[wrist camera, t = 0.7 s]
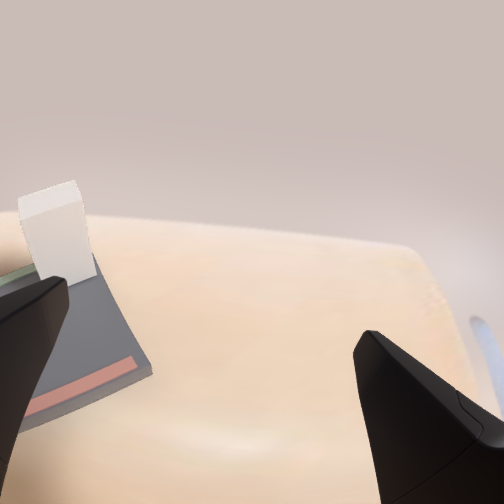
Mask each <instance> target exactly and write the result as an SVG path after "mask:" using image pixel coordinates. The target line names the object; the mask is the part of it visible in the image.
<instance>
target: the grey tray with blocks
mask: <svg viewBox="0 0 504 504" xmlns="http://www.w3.org/2000/svg"><path fill="white" fill-rule="evenodd" d="M18 212H19V222H20V225H21V228H22V231H23V234H24V237H25V240H26V243H27V245H28V248H29V251H30V254H31V256H32V259H33V261H34V263H33V264H31V265H28V266H26V267H23V268H21V269H18V270H16V271H13V272H11V273H9V274H6V275H4V276H1V277H0V297H1V296H3V295H6V294H8V293H11V292H13V291H16V290H18V289H21V288H23V287H26V286H28V285H31V284H33V283H36V282H38V281H41V280H43V279H46V278H49V277H51V276H59V277H62V278H65V279H66V280H67V284H68V292H69V301H70V305H69V310H68V312H67V315H66V317H65V320H64V322H63V325H62V327H61V330H60V332H59V335H58V338H57V341H56V343H55V346H54V348H53V351H52V353H51V355H50V357H49V359H48V362H47V364H46V366H45V368H44V370H43V372H42V374H41V377H40V379H39V381H38V383H37V386H36V388H35V390H34V393H33V395H32V398H31V400H30V403H29V405H28V408H27V410H26V413H25V415H24V418H23V421H22V423H21V426H20V429H19V432H18V433H21V432H24V431H26V430H29V429H31V428H34V427H37V426H39V425H42V424H44V423H47V422H49V421H51V420H54V419H56V418H59V417H61V416H63V415H66V414H68V413H70V412H73V411H75V410H77V409H80V408H82V407H84V406H86V405H89V404H91V403H93V402H95V401H98V400H100V399H102V398H104V397H106V396H108V395H111V394H113V393H115V392H117V391H119V390H121V389H123V388H125V387H127V386H129V385H132V384H134V383H136V382H138V381H140V380H142V379H144V378H146V377H148V376H150V375H152V374H153V373H152V367H151V363H150V362H149V360H148V359H147V357H146V355H145V354H144V352H143V350H142V349H141V347H140V345H139V344H138V342H137V340H136V338H135V337H134V335H133V333H132V331H131V330H130V328H129V326H128V324H127V322H126V320H125V319H124V317H123V315H122V313H121V311H120V309H119V307H118V305H117V303H116V302H115V300H114V298H113V296H112V294H111V292H110V290H109V288H108V285H107V283H106V281H105V279H104V277H103V275H102V273H101V271H100V269H99V266H98V264H97V262H96V260H95V257H94V255H93V253H92V250H91V245H90V240H89V235H88V229H87V224H86V218H85V211H84V204H83V199H82V196H81V194H80V191H79V189H78V186H77V184H76V181H75V180H72V181H68V182H65V183H62V184H59V185H55V186H52V187H49V188H46V189H43V190H40V191H37V192H34V193H31V194H28V195H26V196H23V197H20V198H18Z"/></svg>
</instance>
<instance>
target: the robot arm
mask: <svg viewBox="0 0 504 504" xmlns="http://www.w3.org/2000/svg"><path fill="white" fill-rule="evenodd" d="M69 305H70V301H69V292H68V284H67V280H66V279H65V278H62V277H59V276H51V277H49V278H46V279H43V280H41V281H38V282H36V283H33V284H31V285H28V286H26V287H23V288H21V289H18V290H16V291H13V292H11V293H8V294H6V295H3V296H1V297H0V496H1V491H2V487H3V483H4V479H5V475H6V471H7V467H8V466H7V465H8V463H9V460H10V456H11V453H12V450H13V447H14V444H15V441H16V438H17V435H18V432H19V429H20V426H21V423H22V421H23V418H24V415H25V413H26V410H27V408H28V405H29V403H30V400H31V398H32V395H33V393H34V390H35V388H36V386H37V383H38V381H39V379H40V377H41V374H42V372H43V370H44V368H45V366H46V364H47V362H48V359H49V357H50V355H51V353H52V351H53V348H54V346H55V343H56V341H57V338H58V335H59V332H60V330H61V327H62V325H63V322H64V320H65V317H66V315H67V312H68V310H69ZM353 359H354V366H355V373H356V379H357V387H358V393H359V399H360V403H361V407H362V411H363V416H364V420H365V424H366V429H367V433H368V438H369V442H370V447H371V452H372V457H373V462H374V467H375V472H376V477H377V483H378V488H379V494H380V500H381V504H504V422H503V421H501V420H500V419H498V418H497V417H495V416H494V415H492V414H491V413H489V412H488V411H486V410H485V409H483V408H482V407H480V406H479V405H477V404H476V403H474V402H473V401H472V400H470V399H469V398H467V397H466V396H465V395H463V394H462V393H461V392H459V391H458V390H456V389H455V388H454V387H452V386H451V385H450V384H448V383H447V382H446V381H444V380H443V379H442V378H440V377H439V376H438V375H436V374H435V373H434V372H432V371H431V370H430V369H428V368H427V367H426V366H424V365H423V364H422V363H420V362H419V361H418V360H416V359H415V358H413V357H412V356H411V355H409V354H408V353H407V352H405V351H404V350H403V349H401V348H400V347H399V346H397V345H396V344H394V343H393V342H392V341H390V340H389V339H388V338H386V337H385V336H384V335H382V334H381V333H379V332H378V331H372V330H366V331H365V332H364V333H363V334H362V336H361V338H360V340H359V341H358V343H357V345H356V347H355V349H354V352H353Z"/></svg>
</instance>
